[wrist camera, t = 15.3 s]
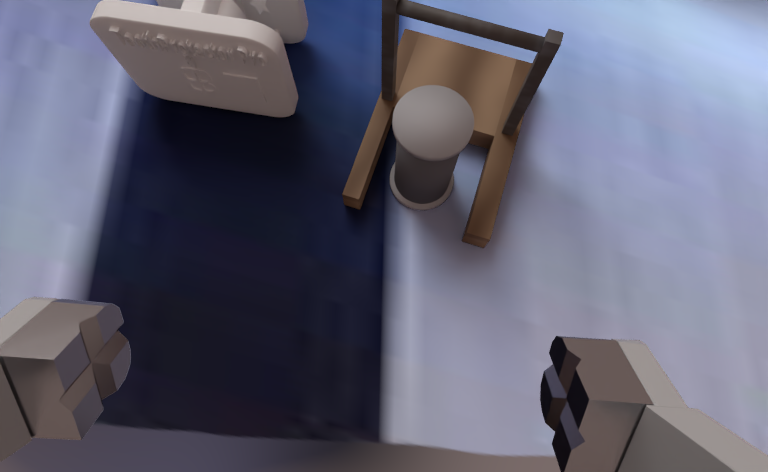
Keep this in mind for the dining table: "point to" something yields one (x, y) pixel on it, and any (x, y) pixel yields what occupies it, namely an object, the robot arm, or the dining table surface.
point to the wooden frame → (468, 78)
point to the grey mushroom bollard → (428, 144)
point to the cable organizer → (208, 50)
